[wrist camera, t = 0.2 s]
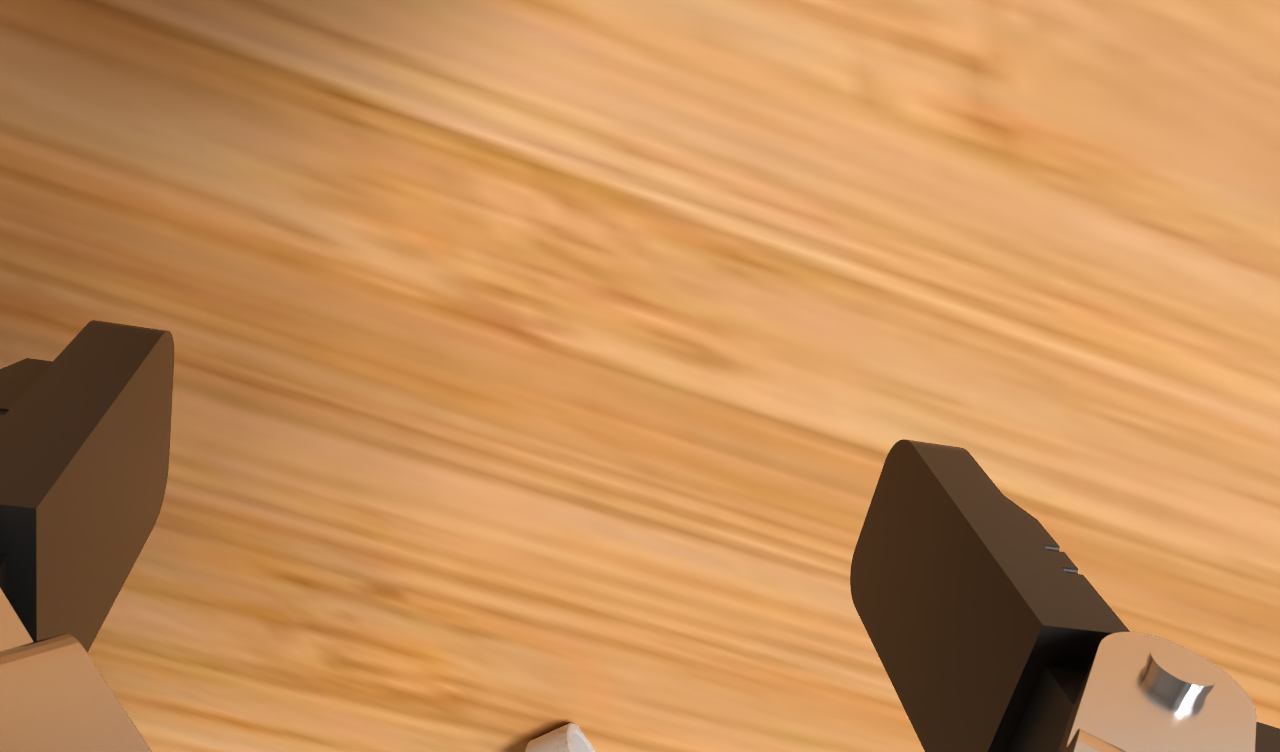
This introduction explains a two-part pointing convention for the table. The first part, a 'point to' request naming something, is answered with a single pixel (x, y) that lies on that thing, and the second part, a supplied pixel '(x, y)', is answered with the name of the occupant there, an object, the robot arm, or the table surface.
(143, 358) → the robot arm
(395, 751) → the table surface
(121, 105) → the table surface
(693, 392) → the table surface
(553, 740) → the wrench
